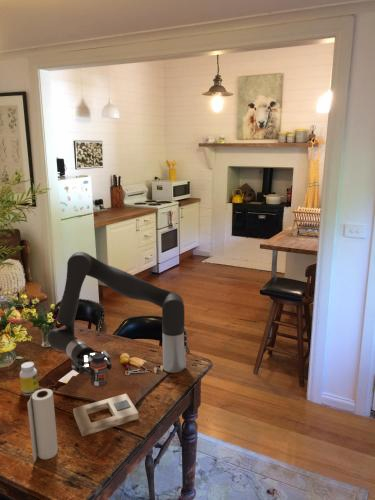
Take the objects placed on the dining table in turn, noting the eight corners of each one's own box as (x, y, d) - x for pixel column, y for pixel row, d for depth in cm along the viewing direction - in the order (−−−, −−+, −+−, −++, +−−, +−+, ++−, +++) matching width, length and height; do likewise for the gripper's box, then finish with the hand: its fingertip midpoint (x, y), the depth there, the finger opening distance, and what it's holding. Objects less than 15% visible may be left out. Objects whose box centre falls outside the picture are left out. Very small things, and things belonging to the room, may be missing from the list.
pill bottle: (33, 397, 159) (30, 370, 156) (18, 395, 160) (15, 368, 157) (42, 387, 165) (39, 361, 162) (27, 385, 166) (24, 359, 163)
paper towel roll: (57, 444, 134) (52, 386, 128) (58, 457, 128) (52, 397, 123) (34, 449, 131) (27, 390, 126) (33, 463, 126) (27, 402, 120)
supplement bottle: (99, 390, 144) (97, 361, 141) (87, 385, 147) (85, 356, 144) (111, 382, 148) (110, 354, 146) (99, 377, 152) (98, 349, 149)
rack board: (126, 399, 157) (126, 392, 157) (138, 418, 146) (138, 411, 145) (73, 414, 148) (73, 407, 148) (82, 436, 137) (81, 429, 136)
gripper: (61, 349, 151) (83, 368, 139) (96, 337, 160) (119, 354, 148) (62, 367, 153) (84, 387, 140) (97, 355, 162) (120, 372, 150)
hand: (102, 370), depth 144 cm, fingers closed on supplement bottle, 6 cm apart
